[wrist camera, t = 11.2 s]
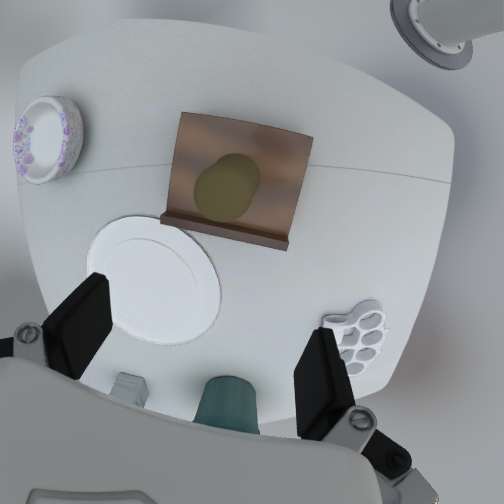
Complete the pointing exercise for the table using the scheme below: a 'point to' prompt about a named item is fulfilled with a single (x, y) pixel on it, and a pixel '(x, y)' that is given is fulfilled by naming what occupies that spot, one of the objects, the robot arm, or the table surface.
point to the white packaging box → (130, 389)
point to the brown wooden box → (270, 167)
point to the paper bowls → (47, 139)
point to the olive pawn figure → (227, 188)
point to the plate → (156, 280)
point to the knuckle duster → (359, 335)
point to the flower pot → (228, 405)
